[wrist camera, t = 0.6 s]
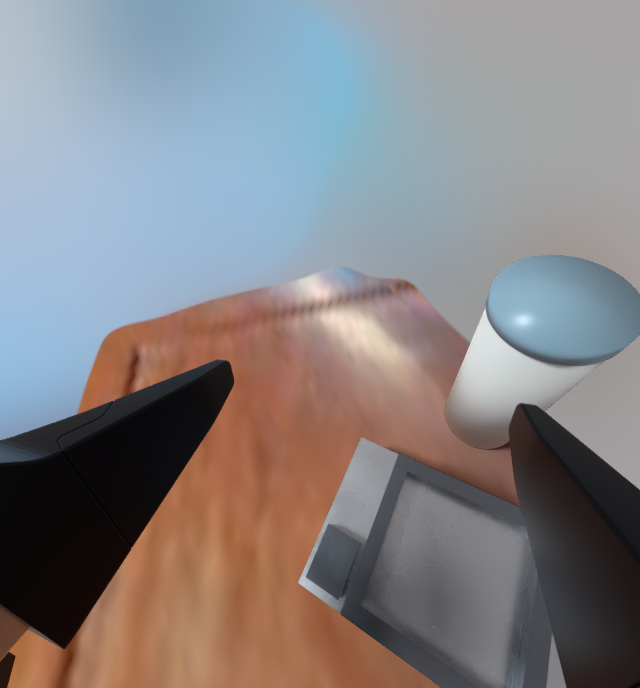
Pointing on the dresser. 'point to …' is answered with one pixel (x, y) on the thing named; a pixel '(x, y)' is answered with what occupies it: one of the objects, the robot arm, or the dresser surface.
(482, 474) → the dresser surface
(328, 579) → the digital kitchen scale
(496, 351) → the lidded container
